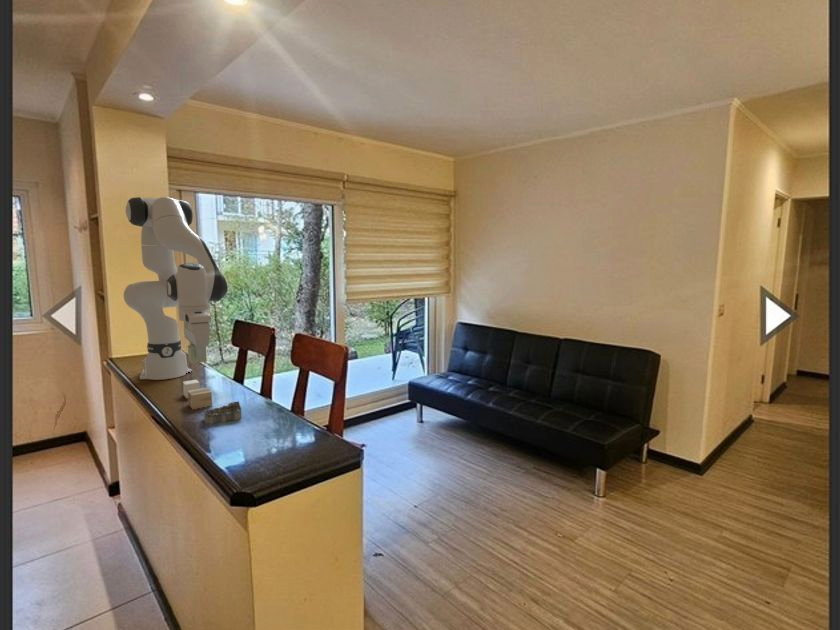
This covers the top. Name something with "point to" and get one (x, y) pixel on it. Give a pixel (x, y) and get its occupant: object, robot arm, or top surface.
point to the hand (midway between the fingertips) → (197, 355)
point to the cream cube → (190, 386)
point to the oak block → (199, 398)
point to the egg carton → (223, 413)
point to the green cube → (193, 355)
